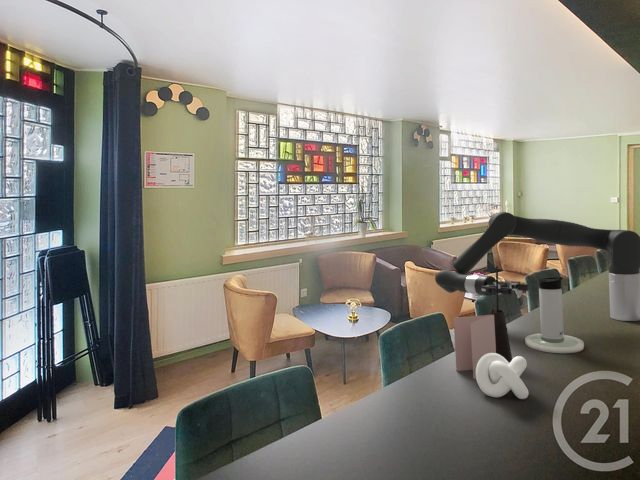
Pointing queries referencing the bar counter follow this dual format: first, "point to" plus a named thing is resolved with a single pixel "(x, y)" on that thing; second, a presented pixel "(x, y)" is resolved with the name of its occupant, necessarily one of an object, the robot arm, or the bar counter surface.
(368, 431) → the bar counter surface
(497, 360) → the white decorative knot
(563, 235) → the robot arm
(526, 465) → the bar counter surface
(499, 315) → the butter churn
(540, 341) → the plate
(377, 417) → the bar counter surface
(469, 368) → the greeting card
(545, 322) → the travel mug
